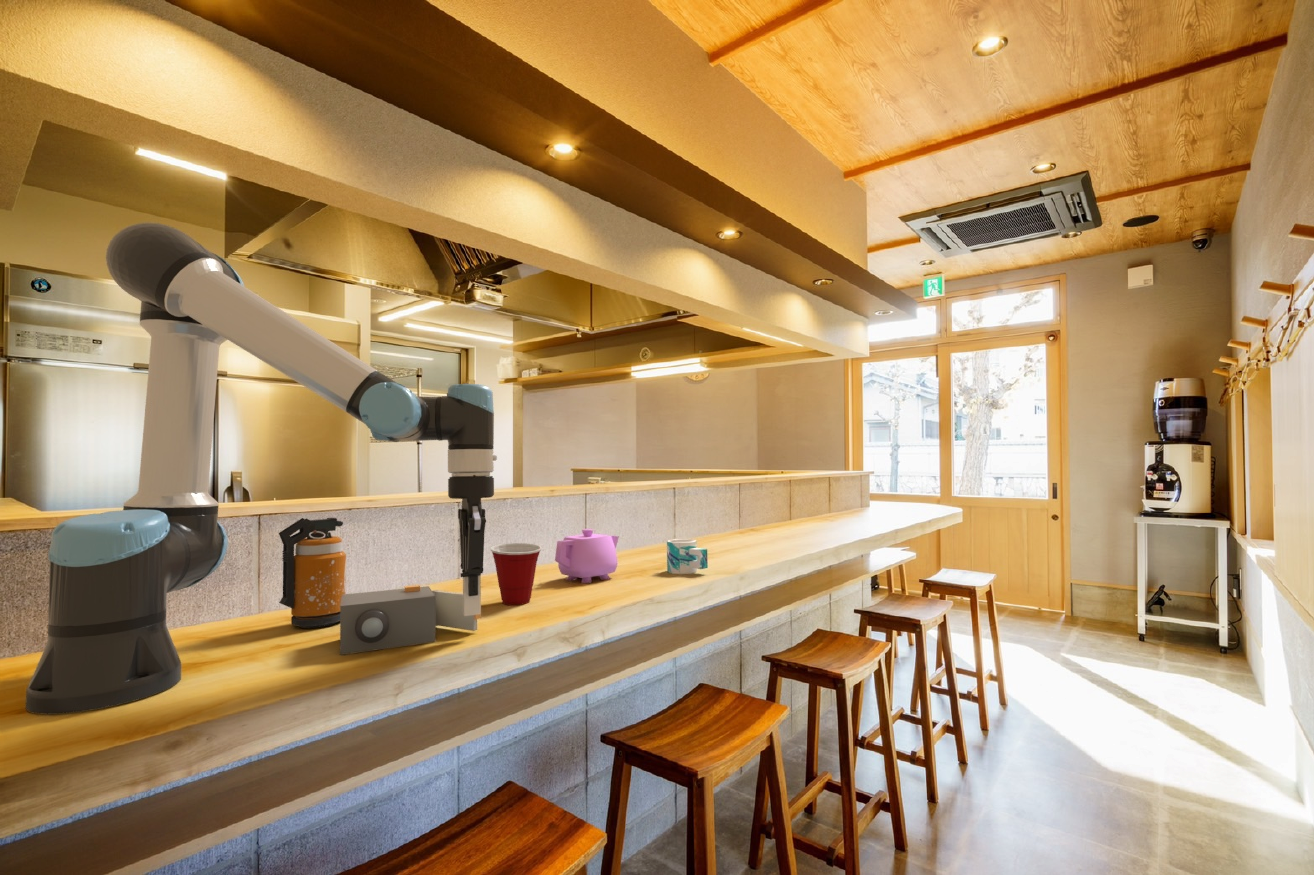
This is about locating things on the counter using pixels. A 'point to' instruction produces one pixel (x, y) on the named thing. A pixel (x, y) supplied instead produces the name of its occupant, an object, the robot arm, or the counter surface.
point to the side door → (452, 611)
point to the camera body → (386, 619)
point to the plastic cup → (515, 570)
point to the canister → (313, 572)
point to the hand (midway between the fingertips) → (471, 614)
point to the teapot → (587, 556)
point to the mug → (685, 556)
